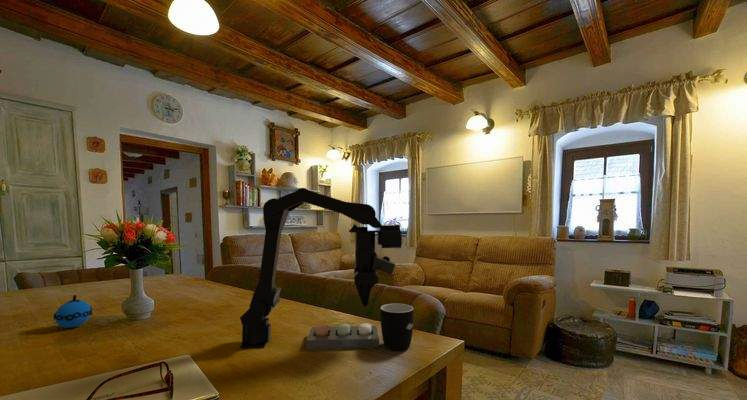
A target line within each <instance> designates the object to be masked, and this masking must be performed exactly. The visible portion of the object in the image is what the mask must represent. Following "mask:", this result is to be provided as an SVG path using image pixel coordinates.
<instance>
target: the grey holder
mask: <svg viewBox="0 0 747 400" xmlns="http://www.w3.org/2000/svg"><path fill="white" fill-rule="evenodd" d="M305 342H306V343H305V345H306V346H305V350H306V351H313V350H314V351H315V350H317V351H320V350H348V349H349V350H354V349H358V350H359V349H379V348H380V337H379V333H378V326H377V325H372V326H371V335H359V325H353V326H352V325H350V335H339V336H337V326H329V329H328V336H315V326H311V328H310V331H309V333H308V335H307V338H306V341H305Z"/></svg>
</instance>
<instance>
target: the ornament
mask: <svg viewBox="0 0 747 400" xmlns="http://www.w3.org/2000/svg"><path fill="white" fill-rule="evenodd" d="M92 314H93V308H92V307H91V305H90V304H89V303H88V302H87V301H85V300H82V299H77V295H76V294H74V295H73V296H72V300H69V301H67V302H64V303H63V304H61V305H60V306H59V307H58V308H57V310H56V312H54V314H53V320H55V321H54V322H55V324H57V325H58V326H59V327H62V328H64V329H65V328H66V329H74V328H77V327H80V326H82V324H84V323H86V322H87V321H88V320H89V318H90V316H92Z"/></svg>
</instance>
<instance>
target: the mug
mask: <svg viewBox="0 0 747 400" xmlns="http://www.w3.org/2000/svg"><path fill="white" fill-rule="evenodd" d="M379 313H380V314H379V315H380V327H381V336H382V341H383V344H384V347H385V348H386V349H387V350H390V351H391V352H393V351H394V352H402V351H406V350H408V349H409V348H410V345H411V344H412V339H413V333H414V321H415V320H414V316H415V315H414V314H415V312H414V307H413V306H412V305H409V304H405V303H387V304H382V305H381V306H380V312H379Z"/></svg>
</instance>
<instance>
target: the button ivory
mask: <svg viewBox="0 0 747 400" xmlns="http://www.w3.org/2000/svg"><path fill="white" fill-rule="evenodd" d="M358 326H359V335H371V326H373V325H372V324H371V323H360V324H358Z"/></svg>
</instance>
